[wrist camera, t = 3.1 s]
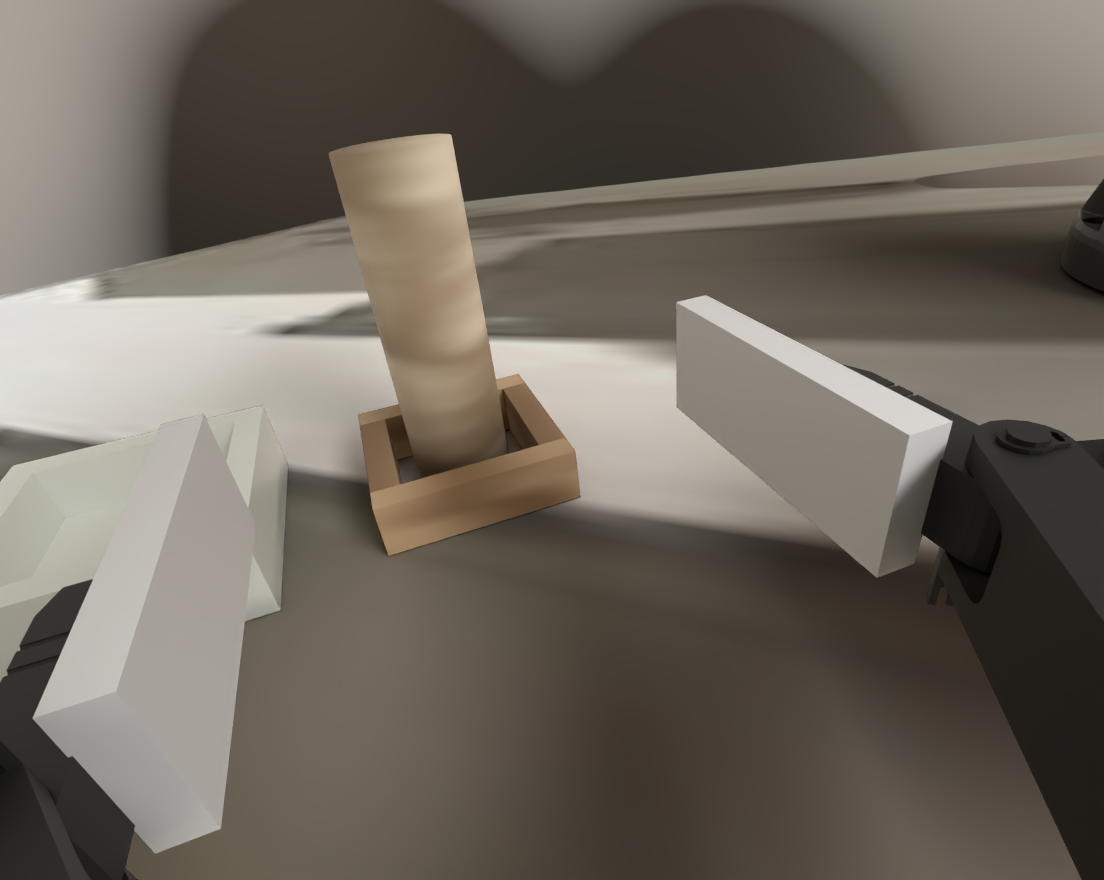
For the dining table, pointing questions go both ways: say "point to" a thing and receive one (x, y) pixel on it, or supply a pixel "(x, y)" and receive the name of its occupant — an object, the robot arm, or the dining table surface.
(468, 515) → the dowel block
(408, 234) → the dowel
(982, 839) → the dining table surface
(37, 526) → the tray
